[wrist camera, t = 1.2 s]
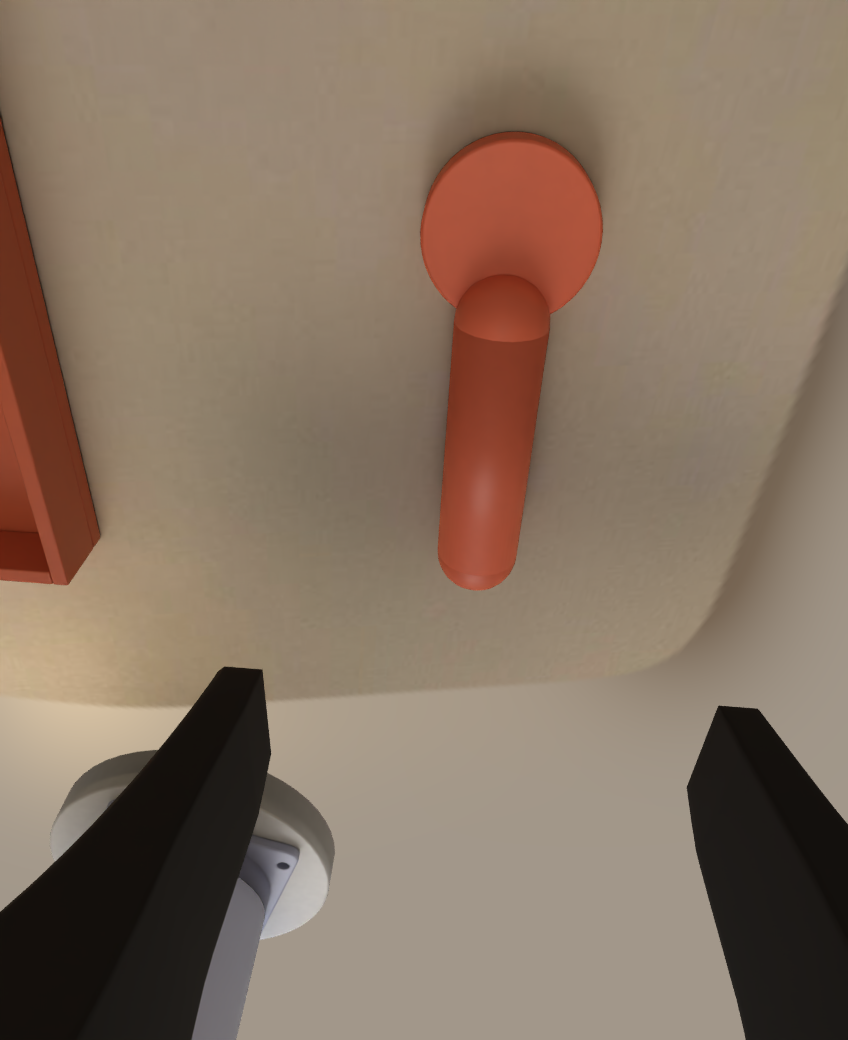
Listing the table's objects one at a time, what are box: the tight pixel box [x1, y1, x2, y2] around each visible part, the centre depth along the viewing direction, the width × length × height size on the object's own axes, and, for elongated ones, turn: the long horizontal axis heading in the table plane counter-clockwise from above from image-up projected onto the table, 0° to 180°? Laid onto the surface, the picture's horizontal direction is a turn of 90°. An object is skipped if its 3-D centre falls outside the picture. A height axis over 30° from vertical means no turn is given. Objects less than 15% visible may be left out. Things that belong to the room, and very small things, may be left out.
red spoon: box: [420, 132, 603, 590], centre depth 17 cm, size 10×4×2 cm, turn 177°
